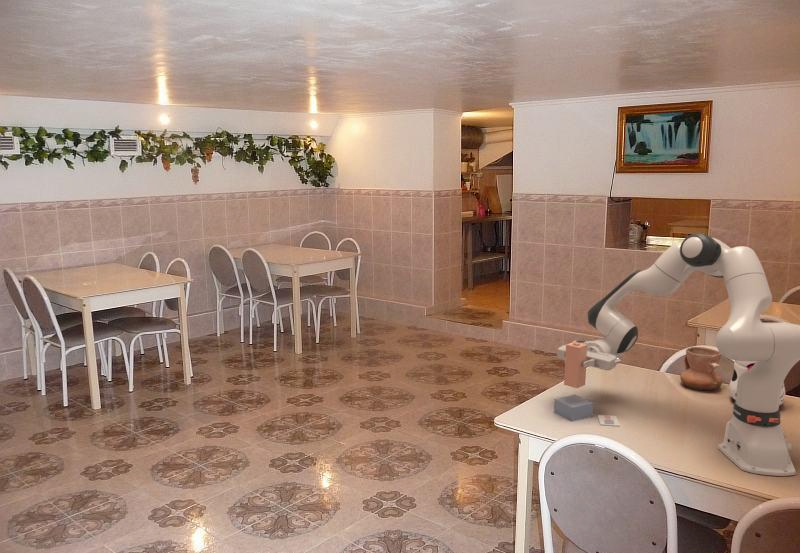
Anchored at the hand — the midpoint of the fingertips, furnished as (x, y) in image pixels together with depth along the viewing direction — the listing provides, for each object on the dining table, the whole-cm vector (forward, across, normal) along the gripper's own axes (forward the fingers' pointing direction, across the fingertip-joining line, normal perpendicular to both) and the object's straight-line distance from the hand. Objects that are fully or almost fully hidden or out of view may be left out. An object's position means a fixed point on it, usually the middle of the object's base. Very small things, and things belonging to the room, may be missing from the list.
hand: (574, 362), depth 218 cm
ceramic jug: (-59, -18, -19) cm, 65 cm away
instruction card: (-4, -11, -18) cm, 22 cm away
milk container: (-56, -39, -19) cm, 71 cm away
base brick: (-1, 0, -19) cm, 19 cm away
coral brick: (-1, 0, -8) cm, 8 cm away
